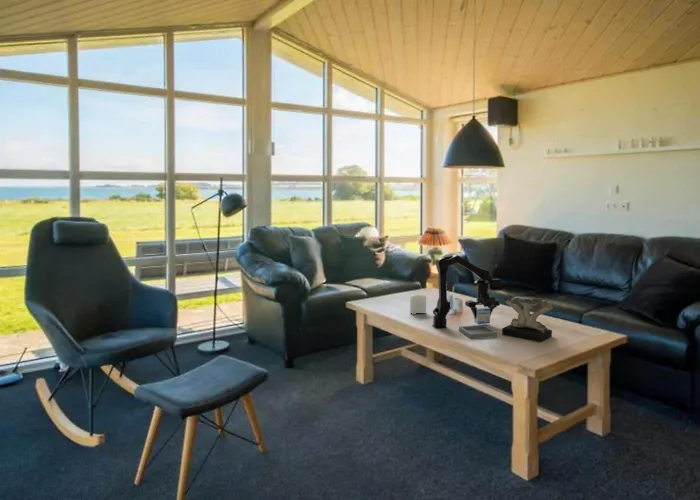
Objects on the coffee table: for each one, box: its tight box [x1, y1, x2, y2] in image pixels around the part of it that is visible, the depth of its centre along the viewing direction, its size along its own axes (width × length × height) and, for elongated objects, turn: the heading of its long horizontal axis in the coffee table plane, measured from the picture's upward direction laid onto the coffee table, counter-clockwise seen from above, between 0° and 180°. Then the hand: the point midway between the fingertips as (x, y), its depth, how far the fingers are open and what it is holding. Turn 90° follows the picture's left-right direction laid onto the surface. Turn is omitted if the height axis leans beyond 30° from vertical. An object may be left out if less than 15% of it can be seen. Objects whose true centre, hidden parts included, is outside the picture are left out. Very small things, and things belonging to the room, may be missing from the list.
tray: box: [458, 324, 498, 340], centre depth 278 cm, size 15×15×2 cm
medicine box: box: [473, 306, 491, 325], centre depth 294 cm, size 8×4×9 cm, turn 105°
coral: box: [501, 297, 554, 343], centre depth 268 cm, size 25×20×22 cm
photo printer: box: [409, 293, 427, 315], centre depth 322 cm, size 10×4×12 cm, turn 98°
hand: (482, 317), depth 294 cm, fingers closed on medicine box, 8 cm apart
